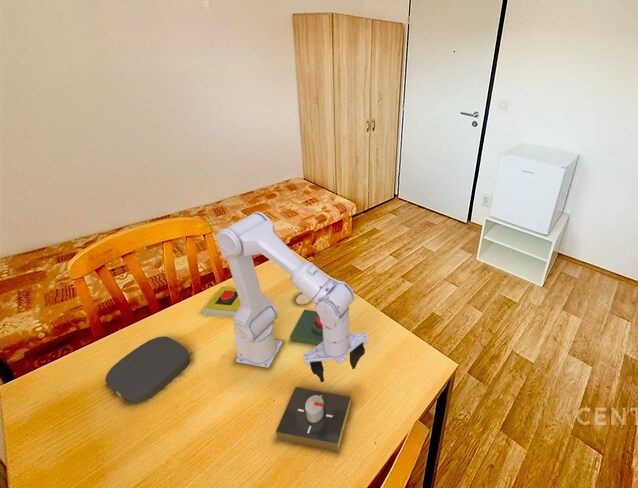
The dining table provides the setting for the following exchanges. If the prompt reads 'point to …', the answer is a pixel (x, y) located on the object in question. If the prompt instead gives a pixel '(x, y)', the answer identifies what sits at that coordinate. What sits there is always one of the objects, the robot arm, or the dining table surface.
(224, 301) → the emergency button
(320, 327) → the button
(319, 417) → the dial knob
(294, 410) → the control panel
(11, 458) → the dining table surface
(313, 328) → the button housing
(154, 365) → the media streaming box
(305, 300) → the wineglass
